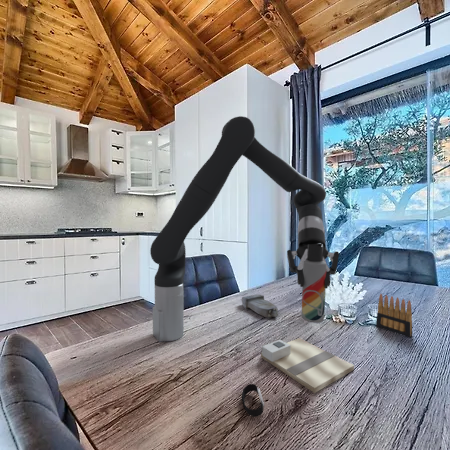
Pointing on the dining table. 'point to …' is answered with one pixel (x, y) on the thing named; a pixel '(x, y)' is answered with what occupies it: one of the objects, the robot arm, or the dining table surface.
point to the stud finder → (276, 350)
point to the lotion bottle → (314, 285)
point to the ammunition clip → (394, 316)
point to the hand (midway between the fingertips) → (313, 285)
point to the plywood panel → (311, 365)
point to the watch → (254, 388)
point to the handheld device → (260, 305)
